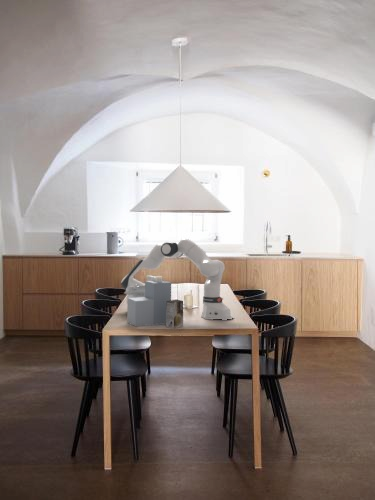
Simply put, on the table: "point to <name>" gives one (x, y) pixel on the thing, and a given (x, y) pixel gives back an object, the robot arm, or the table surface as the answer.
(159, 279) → the long bar
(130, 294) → the robot arm
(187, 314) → the table surface
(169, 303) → the coffee box
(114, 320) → the table surface
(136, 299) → the stepped stand
